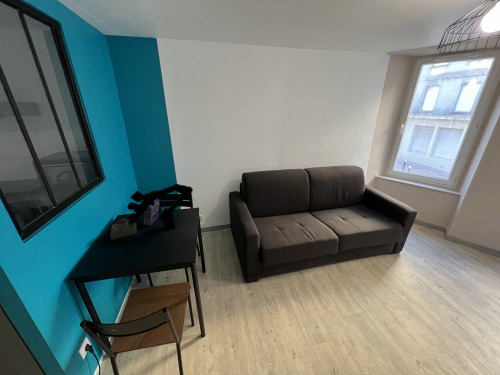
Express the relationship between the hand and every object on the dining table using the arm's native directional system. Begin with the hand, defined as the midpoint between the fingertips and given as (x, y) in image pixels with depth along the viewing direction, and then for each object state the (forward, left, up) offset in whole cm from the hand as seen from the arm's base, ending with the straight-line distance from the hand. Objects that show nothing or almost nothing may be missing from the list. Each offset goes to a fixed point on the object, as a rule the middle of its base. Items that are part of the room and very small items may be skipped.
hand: (131, 220), depth 138 cm
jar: (+6, -3, -8) cm, 10 cm away
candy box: (-12, -8, -8) cm, 16 cm away
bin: (+6, -3, -9) cm, 11 cm away
